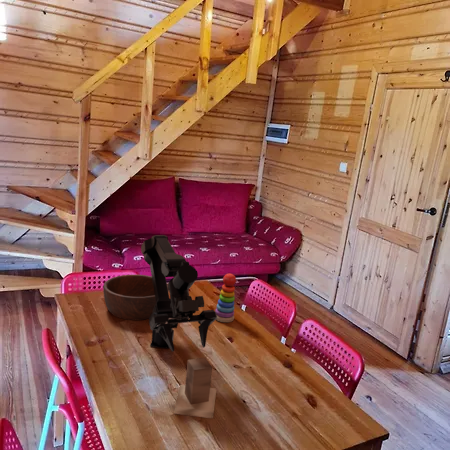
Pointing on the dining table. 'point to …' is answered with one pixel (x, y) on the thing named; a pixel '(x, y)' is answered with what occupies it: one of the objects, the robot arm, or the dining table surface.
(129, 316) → the wooden bowl
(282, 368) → the dining table surface
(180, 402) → the birch plinth
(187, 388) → the walnut pillar
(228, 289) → the stacking toy
